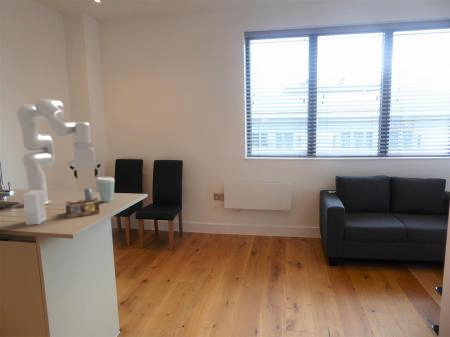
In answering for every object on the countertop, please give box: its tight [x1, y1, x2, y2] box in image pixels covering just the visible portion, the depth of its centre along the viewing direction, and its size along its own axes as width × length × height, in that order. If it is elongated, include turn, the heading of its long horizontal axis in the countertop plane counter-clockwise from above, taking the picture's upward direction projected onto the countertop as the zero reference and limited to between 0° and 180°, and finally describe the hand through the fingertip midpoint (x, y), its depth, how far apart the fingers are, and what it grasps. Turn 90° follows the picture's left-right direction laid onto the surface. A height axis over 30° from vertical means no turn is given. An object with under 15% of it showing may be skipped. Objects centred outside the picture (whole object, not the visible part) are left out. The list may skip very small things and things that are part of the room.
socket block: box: [65, 197, 101, 219], centre depth 171 cm, size 16×11×6 cm
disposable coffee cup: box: [96, 176, 116, 203], centre depth 195 cm, size 11×11×15 cm
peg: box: [83, 187, 94, 203], centre depth 172 cm, size 4×4×11 cm
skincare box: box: [22, 190, 47, 226], centre depth 157 cm, size 8×7×16 cm
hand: (86, 177), depth 171 cm, fingers open, 9 cm apart
